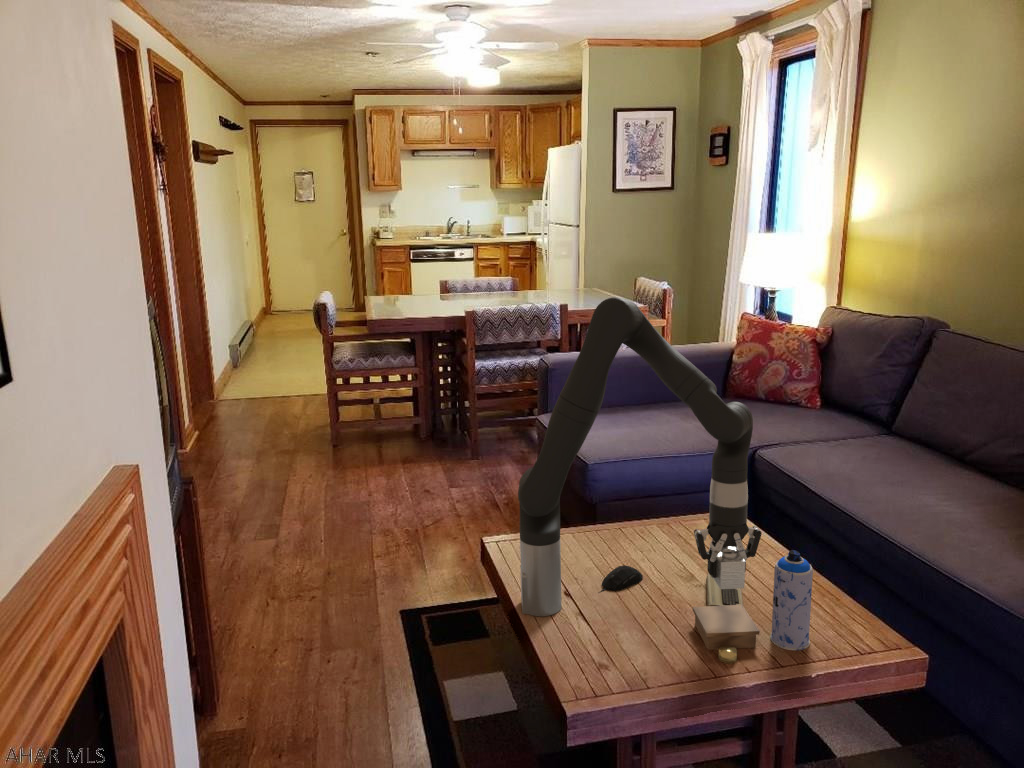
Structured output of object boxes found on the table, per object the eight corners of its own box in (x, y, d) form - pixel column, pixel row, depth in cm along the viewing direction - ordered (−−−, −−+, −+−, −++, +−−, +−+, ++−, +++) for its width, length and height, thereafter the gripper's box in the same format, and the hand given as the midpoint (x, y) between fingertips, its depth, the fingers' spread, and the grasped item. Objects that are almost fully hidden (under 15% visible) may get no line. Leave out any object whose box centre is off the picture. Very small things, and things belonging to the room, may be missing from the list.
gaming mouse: (587, 590, 189) (587, 575, 188) (628, 571, 198) (628, 556, 197) (606, 599, 184) (606, 584, 183) (647, 579, 193) (648, 564, 192)
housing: (709, 571, 167) (709, 541, 166) (731, 570, 167) (732, 540, 166) (720, 589, 159) (721, 557, 158) (744, 588, 160) (745, 556, 158)
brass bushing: (721, 664, 156) (721, 655, 156) (716, 654, 159) (716, 645, 159) (739, 663, 156) (739, 654, 156) (733, 653, 160) (733, 644, 159)
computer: (744, 619, 173) (745, 605, 173) (707, 616, 175) (707, 603, 174) (740, 586, 188) (740, 574, 188) (705, 584, 190) (706, 571, 189)
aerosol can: (768, 628, 168) (772, 543, 164) (806, 632, 167) (811, 545, 162) (772, 648, 161) (776, 559, 156) (812, 652, 159) (817, 561, 155)
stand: (706, 651, 161) (706, 633, 160) (692, 623, 171) (692, 607, 170) (758, 648, 161) (759, 630, 160) (741, 621, 172) (742, 604, 171)
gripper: (756, 491, 163) (753, 566, 167) (689, 494, 163) (687, 569, 167) (769, 504, 156) (766, 582, 160) (699, 507, 156) (697, 585, 159)
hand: (726, 575), depth 163 cm, fingers closed on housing, 5 cm apart
